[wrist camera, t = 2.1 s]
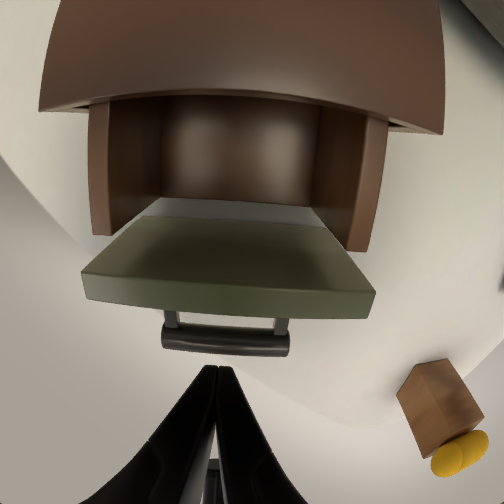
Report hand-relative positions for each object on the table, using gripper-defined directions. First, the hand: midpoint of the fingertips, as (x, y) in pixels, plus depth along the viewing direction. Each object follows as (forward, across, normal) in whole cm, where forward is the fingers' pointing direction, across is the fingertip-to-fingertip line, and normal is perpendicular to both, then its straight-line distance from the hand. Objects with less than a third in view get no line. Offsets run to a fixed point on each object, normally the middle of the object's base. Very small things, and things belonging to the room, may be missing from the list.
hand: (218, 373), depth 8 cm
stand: (+9, -21, +13) cm, 26 cm away
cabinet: (+9, 0, -14) cm, 17 cm away
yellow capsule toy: (0, -21, +13) cm, 25 cm away
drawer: (+8, 0, -5) cm, 10 cm away
